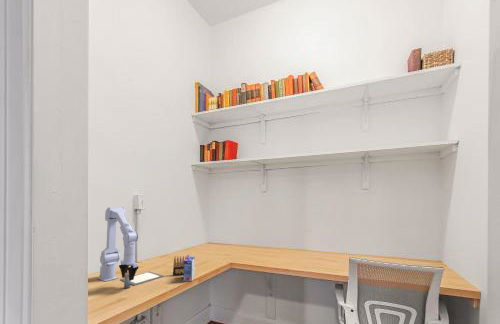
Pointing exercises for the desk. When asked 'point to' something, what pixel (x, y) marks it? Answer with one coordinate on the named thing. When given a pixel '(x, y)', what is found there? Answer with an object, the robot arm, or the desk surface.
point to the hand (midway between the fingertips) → (127, 278)
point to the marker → (127, 281)
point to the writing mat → (143, 278)
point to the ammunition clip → (178, 266)
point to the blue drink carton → (189, 268)
